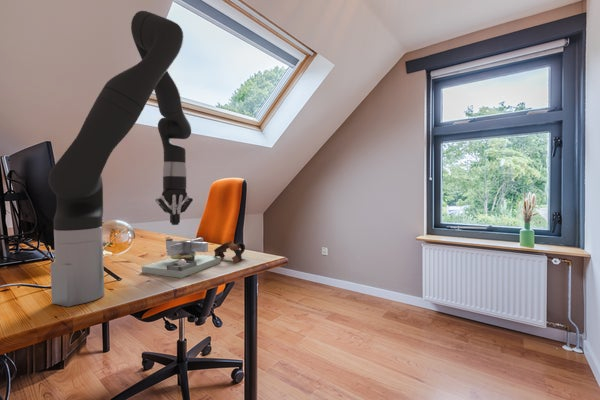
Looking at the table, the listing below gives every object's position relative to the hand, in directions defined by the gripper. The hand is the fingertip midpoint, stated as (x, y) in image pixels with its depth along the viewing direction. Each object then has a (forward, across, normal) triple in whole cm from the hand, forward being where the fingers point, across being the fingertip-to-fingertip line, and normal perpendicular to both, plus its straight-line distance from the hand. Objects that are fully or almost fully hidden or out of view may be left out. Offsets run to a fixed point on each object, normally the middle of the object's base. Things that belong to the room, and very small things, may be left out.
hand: (174, 224), depth 100 cm
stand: (+14, 0, +6) cm, 15 cm away
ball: (+11, +4, +13) cm, 17 cm away
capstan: (+12, 0, +7) cm, 14 cm away
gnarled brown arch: (+14, -16, +11) cm, 24 cm away
